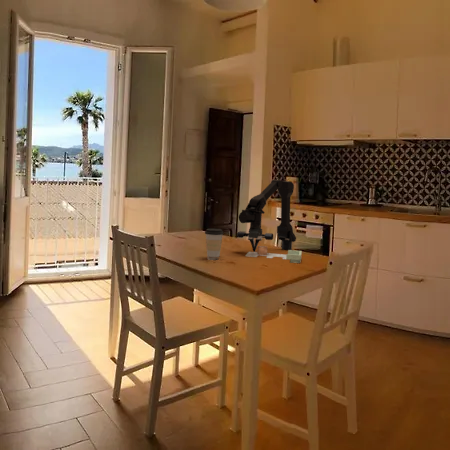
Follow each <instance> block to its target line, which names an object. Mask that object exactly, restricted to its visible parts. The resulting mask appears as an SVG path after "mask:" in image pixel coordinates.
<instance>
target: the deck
mask: <svg viewBox="0 0 450 450" xmlns="http://www.w3.org/2000/svg"><path fill="white" fill-rule="evenodd" d="M302 253H303V251H302V250H295V249H292V250H287V253H286V254H284V253H283V254H282V253H271V252H267V255H258V251H255V252H253V251H248V252H247V253H246V254H245V257H250V258H251V257H252V258H257V257H258V256H262V257H266V259H273V258H275V257H277V258H282V260H289V263H295V264H301V261H302Z"/></svg>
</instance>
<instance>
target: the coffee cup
mask: <svg viewBox="0 0 450 450" xmlns="http://www.w3.org/2000/svg"><path fill="white" fill-rule="evenodd" d="M224 233H225V232H224V231H223V229H221V228H206V229H205V231H204V234H205V244H206V246H205V247H206V256H207V257H206V258H207V260H209V261H219V259H220V258H219V257H220V254H221V250H222V249H221V248H222V242H223V240H222V239H223V235H224Z"/></svg>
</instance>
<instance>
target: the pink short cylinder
mask: <svg viewBox="0 0 450 450" xmlns="http://www.w3.org/2000/svg"><path fill="white" fill-rule="evenodd" d="M257 252H258V256H260V255H267V253H268V246H267V245H266V246H265V245H257Z"/></svg>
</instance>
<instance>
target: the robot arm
mask: <svg viewBox="0 0 450 450" xmlns="http://www.w3.org/2000/svg"><path fill="white" fill-rule="evenodd" d="M294 190H295V185H294V182H293V181H288V180H287V181H286V180H280V179H273V180H271V181H270V183H269V184H268V185H267V186H266V187H265V188H264V189H263V191H261V192H260V193H259V194H257V195H254V196H253V197H251V198H250V199H249V202H248V203H247V206H246V208H245V209H242V210H241V212H240V213H239V215H238V220H239V223H241V224H250V226H249V229H248V232H246V230H245V231H244V230H239V231H237V232H236V238H240V239H242V238H244V237H247V240H248V241H249V242H250V244H251V247H252V252H256V250H257V249H258V246H259V244H260V242H261V241H262V240H263V239H265V240H268V241H272V240H273V239H274V234H273V233H270V232H265V234H263V229H262V219H263V218H262V217H263V216H262V214H263V215H264V214H265V211H264V210H263V209H264V208H265V206H266V205H267V201H268V200H269V198H271V197H272V196H273V195H274V194H275V192H276V191H278V194H279V195H280V196H279V197H280V198H281V202H280V203H281V205H280V212H281V213H280V224H279V225H277V227H276V228H277V231H276V234H277V237H278V240H279V241H281V250H283V251H288V250H293V249H292V248H293V243H295V242H296V241H297V237H296V235H295V233H294V229H293V228H294V227H293V226H292V224H291V197H292V196H293V193H294Z"/></svg>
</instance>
